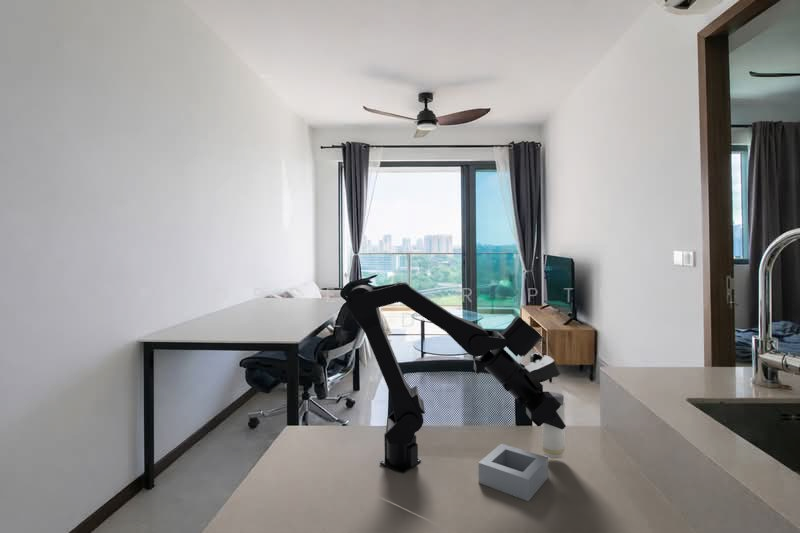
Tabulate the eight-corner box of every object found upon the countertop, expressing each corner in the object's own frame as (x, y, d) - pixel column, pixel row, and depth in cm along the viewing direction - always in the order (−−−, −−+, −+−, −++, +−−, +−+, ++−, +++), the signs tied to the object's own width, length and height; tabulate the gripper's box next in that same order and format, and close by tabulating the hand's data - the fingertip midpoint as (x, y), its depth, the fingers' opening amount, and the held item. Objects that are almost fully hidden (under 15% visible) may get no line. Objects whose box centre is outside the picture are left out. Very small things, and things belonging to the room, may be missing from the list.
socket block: (478, 482, 84) (478, 462, 84) (501, 461, 92) (501, 443, 91) (528, 501, 78) (528, 479, 77) (548, 477, 85) (548, 457, 85)
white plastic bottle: (538, 454, 91) (538, 396, 91) (546, 446, 95) (546, 390, 94) (560, 460, 88) (560, 400, 88) (567, 452, 92) (567, 394, 91)
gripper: (550, 356, 81) (608, 413, 82) (522, 335, 100) (570, 382, 100) (508, 397, 82) (566, 454, 82) (488, 369, 100) (536, 415, 101)
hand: (559, 422), depth 91 cm, fingers closed on white plastic bottle, 4 cm apart
